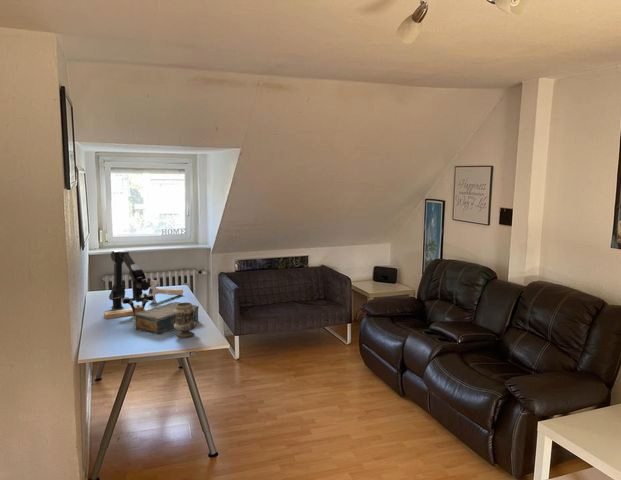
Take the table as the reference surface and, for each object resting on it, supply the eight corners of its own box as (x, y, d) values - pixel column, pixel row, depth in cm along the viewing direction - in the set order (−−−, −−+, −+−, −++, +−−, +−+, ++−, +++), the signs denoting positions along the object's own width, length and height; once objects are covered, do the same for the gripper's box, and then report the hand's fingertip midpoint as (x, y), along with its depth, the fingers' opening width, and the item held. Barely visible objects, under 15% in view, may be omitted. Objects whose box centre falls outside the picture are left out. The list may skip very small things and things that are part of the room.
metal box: (200, 321, 300) (199, 305, 299) (158, 335, 273) (158, 318, 272) (175, 316, 311) (175, 301, 310) (133, 329, 284) (132, 313, 283)
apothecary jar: (186, 330, 281) (185, 300, 279) (200, 334, 274) (199, 303, 272) (169, 336, 271) (168, 304, 269) (184, 340, 264) (182, 307, 262)
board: (104, 316, 312) (104, 312, 311) (143, 310, 324) (142, 306, 324) (106, 318, 306) (105, 314, 306) (145, 313, 318) (145, 309, 318)
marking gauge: (132, 312, 318) (131, 303, 317) (140, 310, 320) (139, 302, 320) (135, 315, 310) (134, 306, 309) (143, 314, 312) (142, 305, 312)
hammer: (180, 281, 370) (149, 279, 344) (184, 282, 367) (154, 280, 341) (177, 302, 368) (146, 302, 342) (182, 303, 366) (151, 302, 340)
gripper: (124, 292, 299) (125, 317, 301) (155, 288, 309) (156, 312, 311) (120, 289, 309) (122, 313, 311) (150, 285, 318) (152, 309, 320)
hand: (138, 312), depth 313 cm, fingers closed on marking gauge, 5 cm apart
